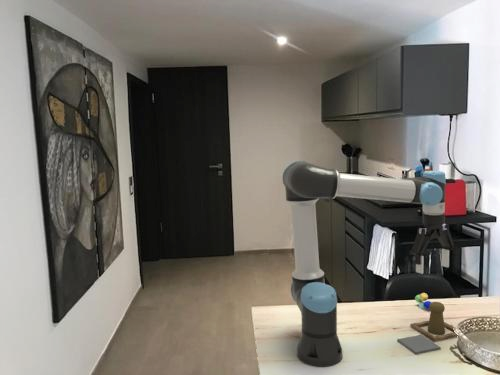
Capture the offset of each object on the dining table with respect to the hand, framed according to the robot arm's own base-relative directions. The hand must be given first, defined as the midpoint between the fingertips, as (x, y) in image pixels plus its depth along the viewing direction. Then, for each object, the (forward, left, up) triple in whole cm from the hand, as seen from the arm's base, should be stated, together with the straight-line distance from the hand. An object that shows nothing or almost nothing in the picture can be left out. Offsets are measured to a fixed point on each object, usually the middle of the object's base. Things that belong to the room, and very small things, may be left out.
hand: (432, 269), depth 163 cm
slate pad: (-13, -10, -23) cm, 28 cm away
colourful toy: (+10, +16, -23) cm, 30 cm away
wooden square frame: (0, -3, -23) cm, 23 cm away
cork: (0, -3, -23) cm, 23 cm away
